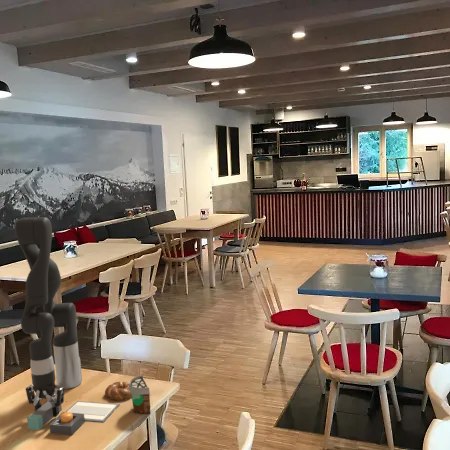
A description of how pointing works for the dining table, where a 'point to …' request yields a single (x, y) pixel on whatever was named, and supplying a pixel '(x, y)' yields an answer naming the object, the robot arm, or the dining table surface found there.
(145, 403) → the food container
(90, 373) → the dining table surface
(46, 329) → the robot arm
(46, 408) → the marker
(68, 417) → the button
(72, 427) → the button housing
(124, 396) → the pretzel
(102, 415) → the drawing board
